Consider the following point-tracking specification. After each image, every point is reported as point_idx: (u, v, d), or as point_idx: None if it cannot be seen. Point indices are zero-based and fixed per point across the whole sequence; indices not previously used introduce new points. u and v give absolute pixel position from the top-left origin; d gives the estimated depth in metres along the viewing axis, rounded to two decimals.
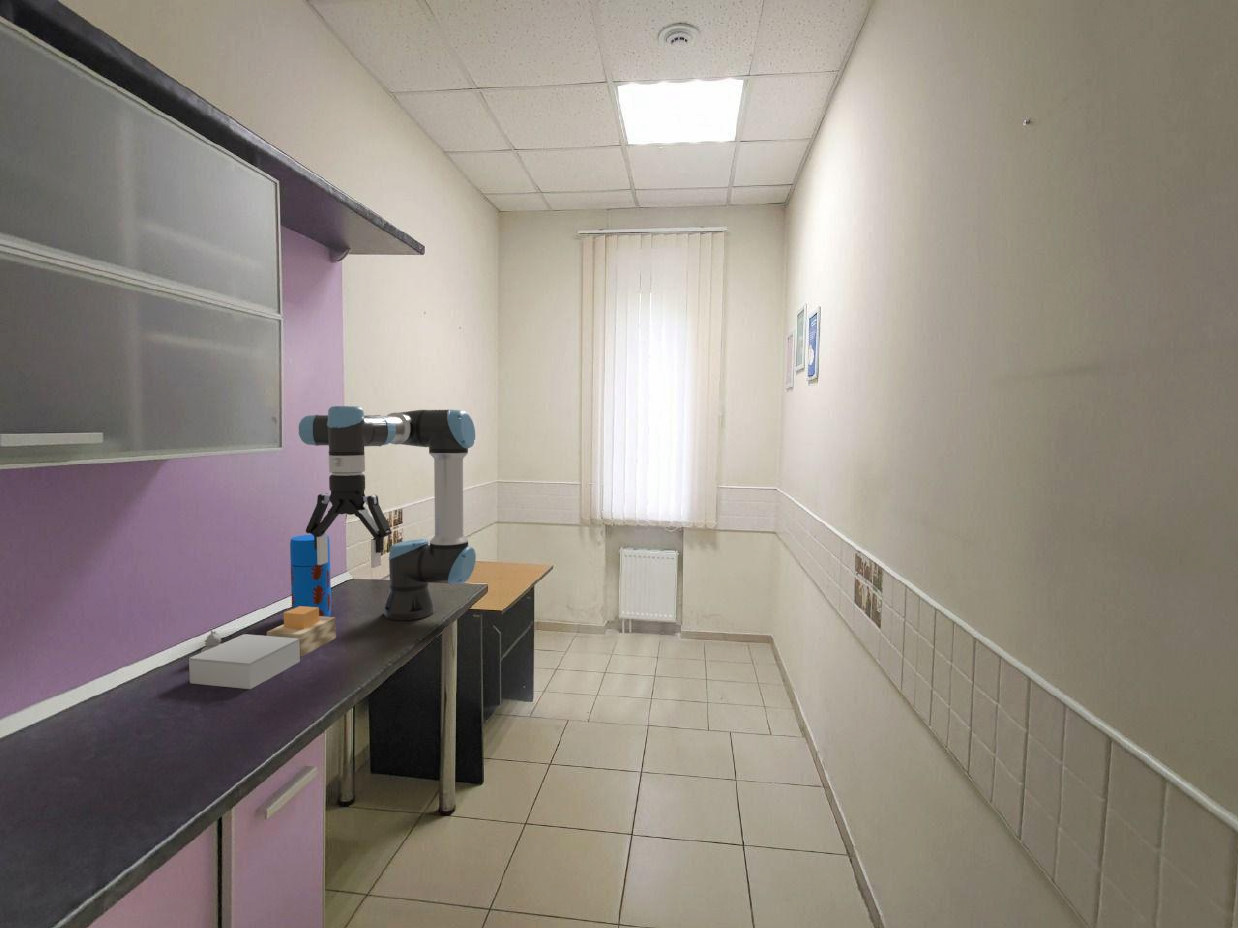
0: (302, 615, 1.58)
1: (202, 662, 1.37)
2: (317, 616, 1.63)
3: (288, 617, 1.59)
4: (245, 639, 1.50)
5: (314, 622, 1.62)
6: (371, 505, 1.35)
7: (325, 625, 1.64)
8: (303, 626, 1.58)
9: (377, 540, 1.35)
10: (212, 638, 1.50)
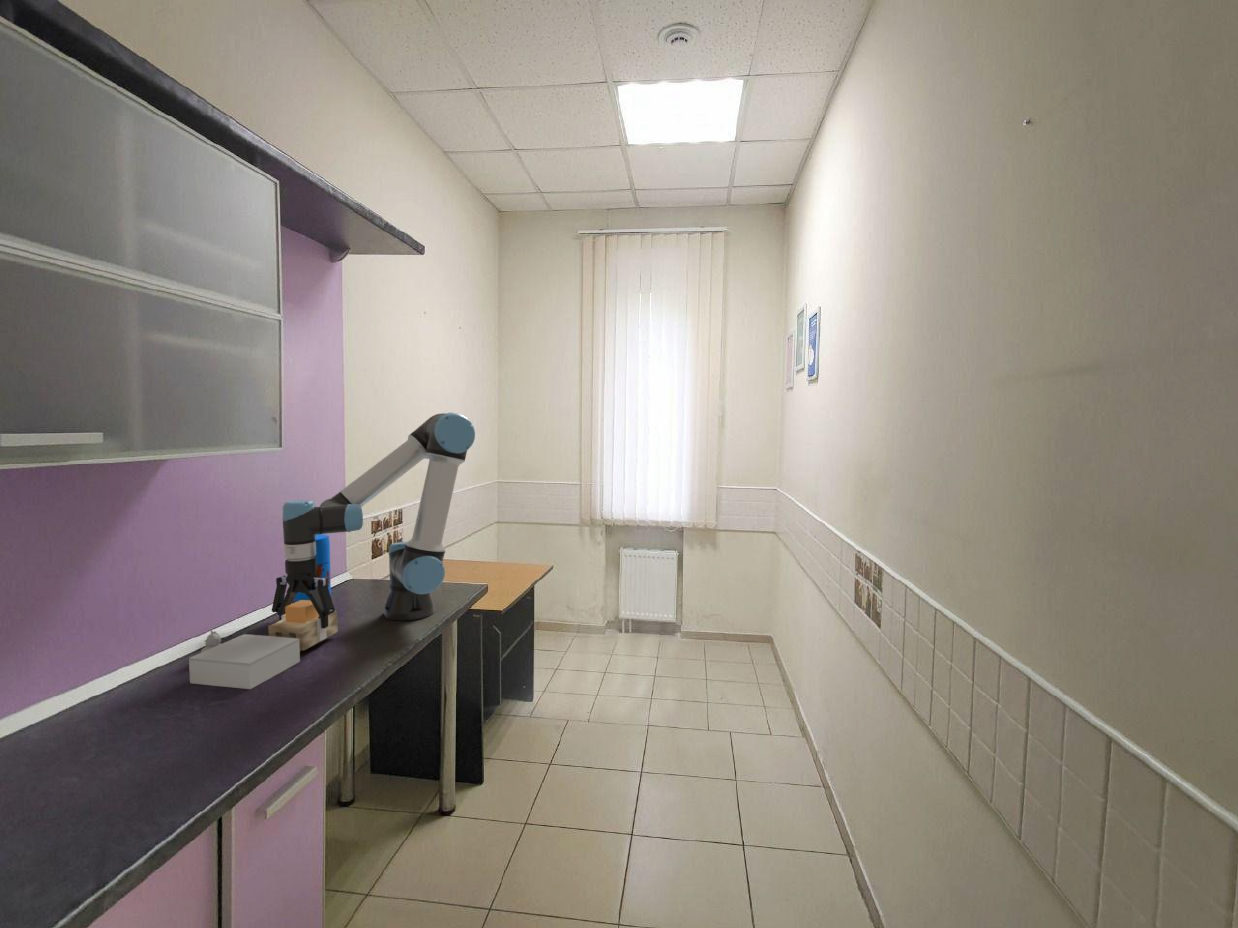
0: (304, 609, 1.58)
1: (202, 662, 1.37)
2: None
3: (290, 611, 1.59)
4: (245, 639, 1.50)
5: (316, 616, 1.62)
6: (320, 587, 1.59)
7: None
8: (305, 620, 1.58)
9: (322, 618, 1.60)
10: (212, 638, 1.50)
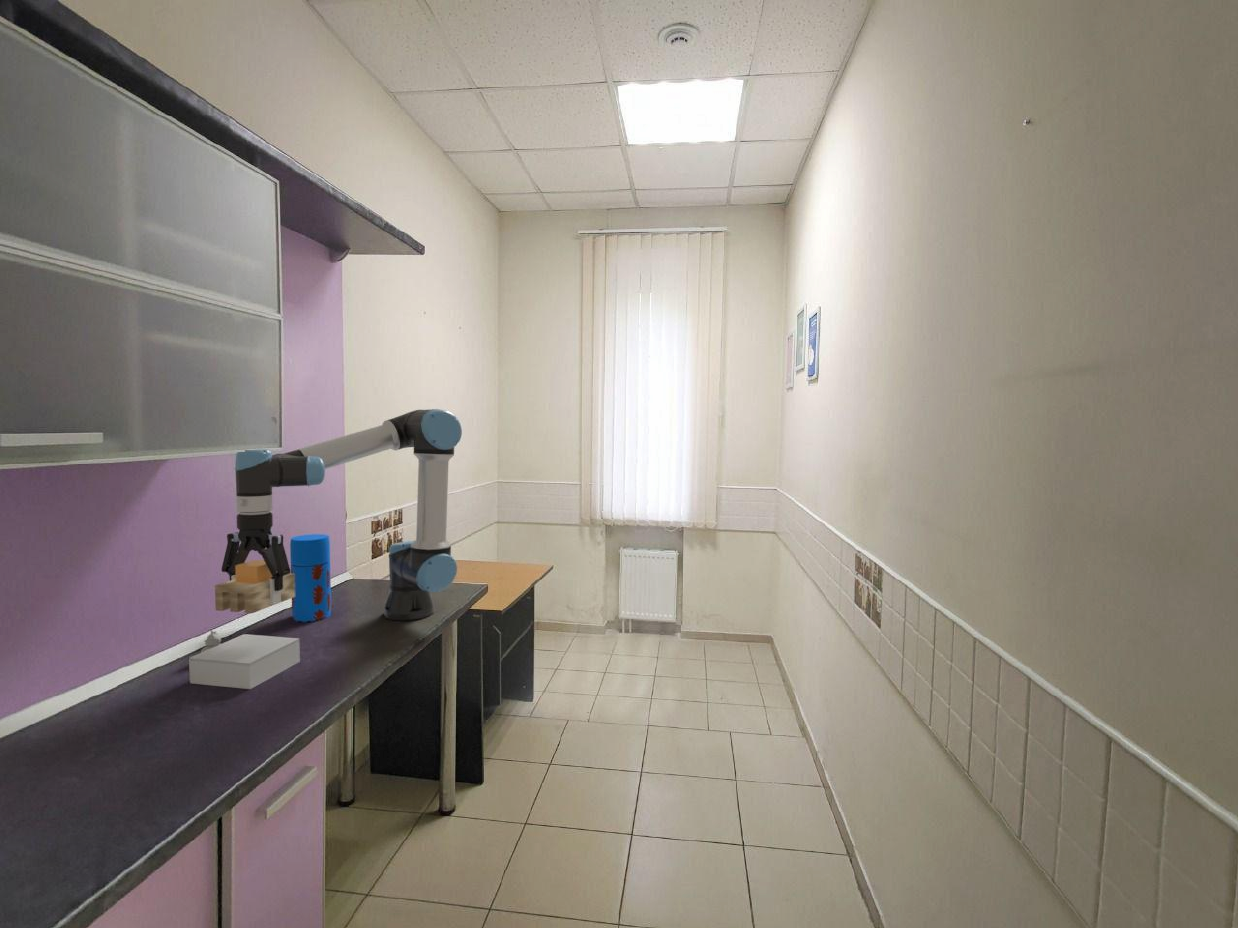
0: (255, 568, 1.43)
1: (202, 662, 1.37)
2: None
3: (240, 570, 1.44)
4: (245, 639, 1.50)
5: (270, 577, 1.47)
6: (274, 545, 1.44)
7: (283, 581, 1.49)
8: (256, 580, 1.43)
9: (276, 579, 1.45)
10: (212, 638, 1.50)
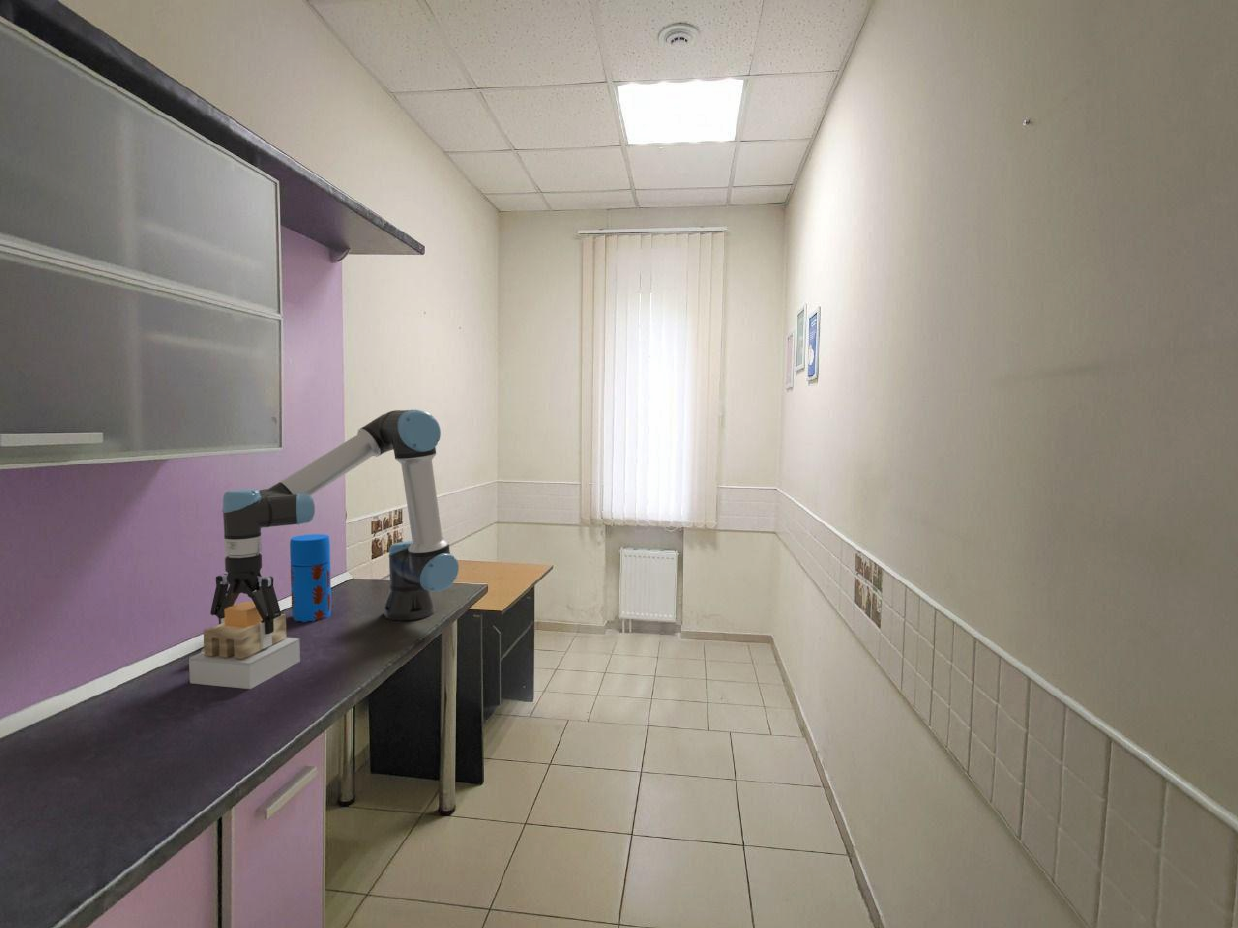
0: (245, 612, 1.40)
1: (202, 662, 1.37)
2: None
3: (229, 614, 1.41)
4: None
5: (260, 619, 1.44)
6: (264, 588, 1.41)
7: (273, 623, 1.46)
8: (246, 624, 1.40)
9: (266, 622, 1.42)
10: None
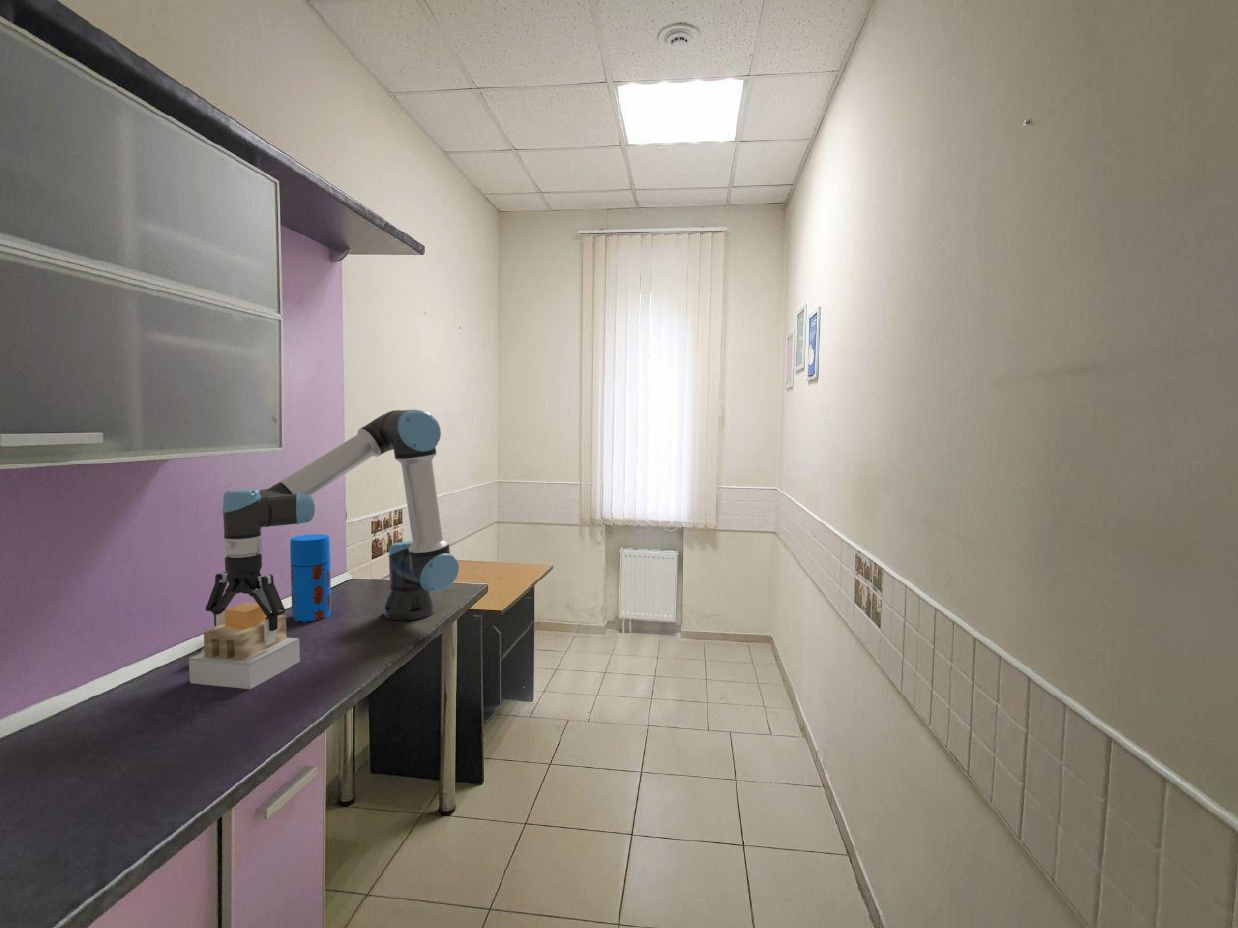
0: (245, 613, 1.40)
1: (202, 662, 1.37)
2: (264, 614, 1.45)
3: (230, 615, 1.41)
4: None
5: (260, 621, 1.44)
6: (265, 585, 1.41)
7: None
8: (246, 625, 1.40)
9: (270, 619, 1.42)
10: None
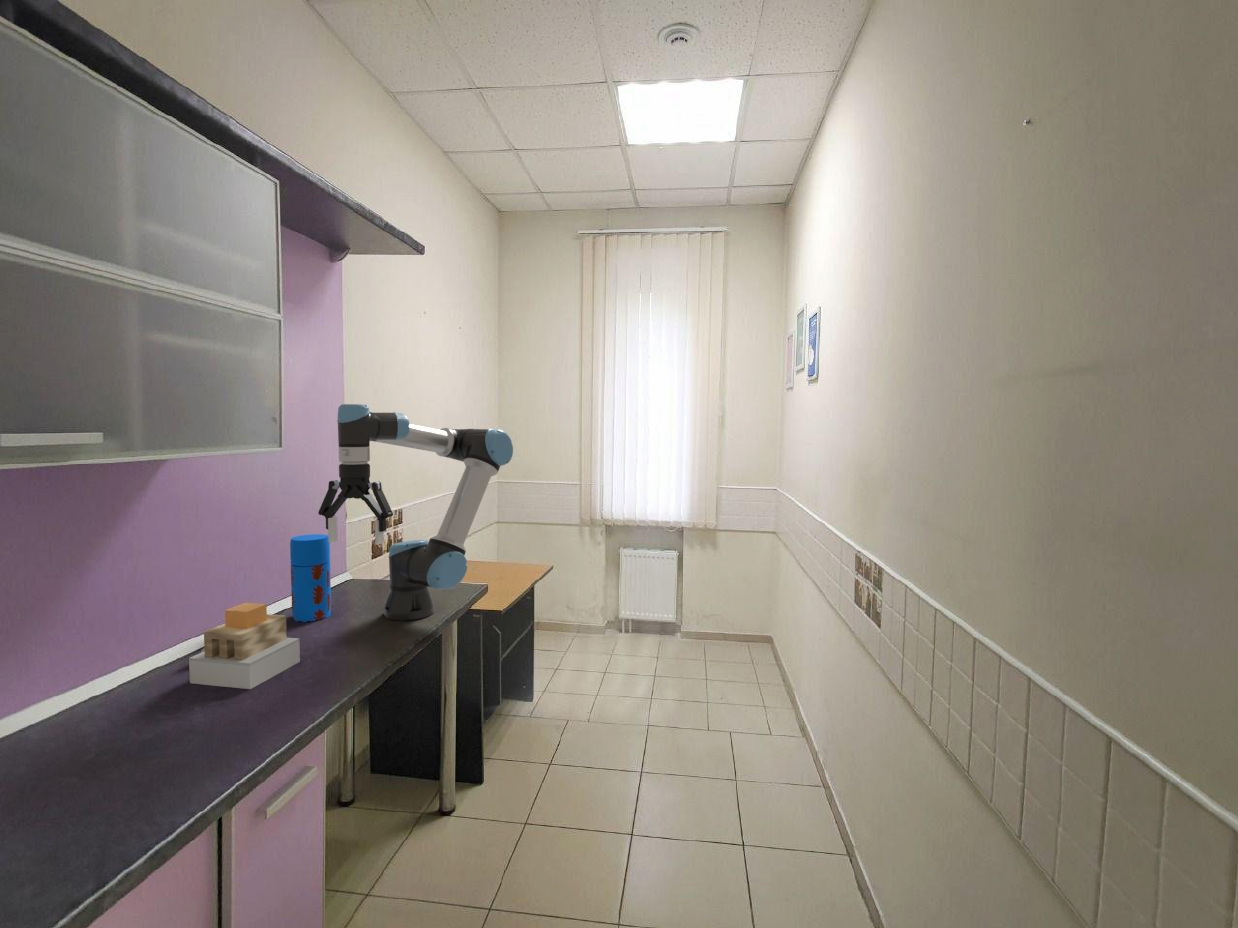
0: (245, 613, 1.40)
1: (202, 662, 1.37)
2: (264, 614, 1.45)
3: (230, 615, 1.41)
4: None
5: (260, 621, 1.44)
6: (375, 490, 1.55)
7: (273, 624, 1.46)
8: (246, 625, 1.40)
9: (380, 521, 1.56)
10: None
